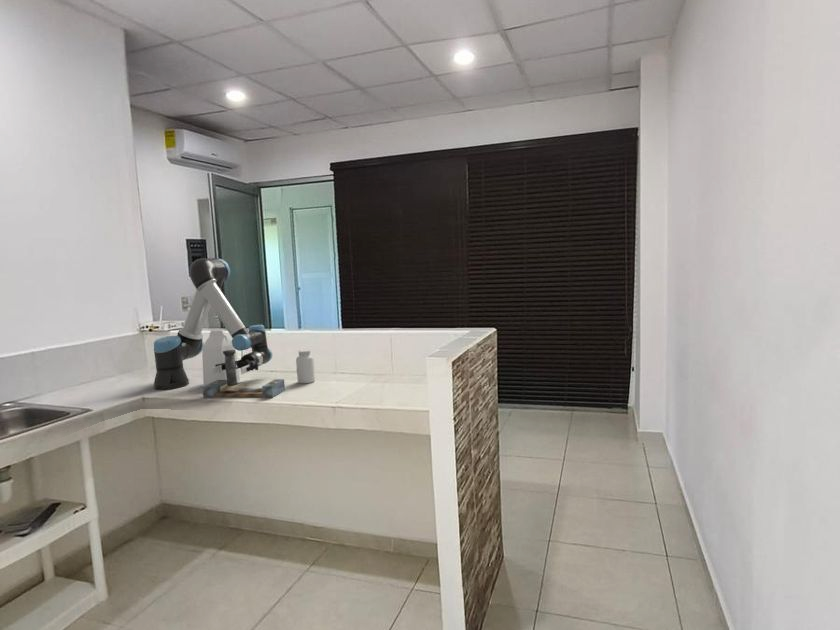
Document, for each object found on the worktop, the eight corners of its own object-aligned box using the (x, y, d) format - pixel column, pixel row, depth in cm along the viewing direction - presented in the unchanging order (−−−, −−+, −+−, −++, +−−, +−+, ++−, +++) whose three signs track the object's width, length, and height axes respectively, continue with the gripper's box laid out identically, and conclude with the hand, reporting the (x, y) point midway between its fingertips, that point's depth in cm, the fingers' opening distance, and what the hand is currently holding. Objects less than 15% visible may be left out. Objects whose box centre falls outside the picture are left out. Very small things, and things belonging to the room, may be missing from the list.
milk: (203, 386, 240) (198, 332, 237) (218, 380, 251) (213, 328, 248) (225, 386, 237) (220, 331, 234) (240, 380, 248) (235, 328, 245)
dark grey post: (220, 392, 219) (216, 352, 217) (230, 387, 227) (226, 349, 225) (235, 392, 218) (231, 352, 216) (244, 387, 226) (241, 349, 224)
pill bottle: (317, 379, 242) (315, 349, 240) (309, 384, 234) (307, 352, 232) (303, 379, 244) (300, 348, 242) (294, 383, 236) (292, 352, 234)
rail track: (203, 398, 218) (202, 385, 218) (218, 390, 230) (217, 378, 230) (272, 397, 213) (271, 385, 213) (285, 390, 225) (284, 378, 224)
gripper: (276, 368, 238) (254, 379, 217) (227, 369, 242) (201, 379, 221) (275, 352, 237) (253, 362, 216) (226, 353, 241) (199, 363, 220)
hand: (227, 371), depth 218 cm, fingers open, 13 cm apart
